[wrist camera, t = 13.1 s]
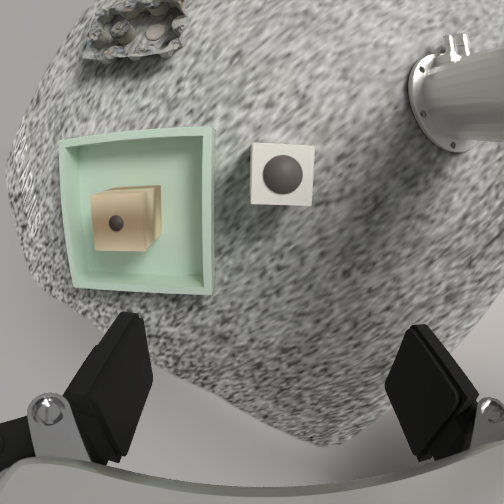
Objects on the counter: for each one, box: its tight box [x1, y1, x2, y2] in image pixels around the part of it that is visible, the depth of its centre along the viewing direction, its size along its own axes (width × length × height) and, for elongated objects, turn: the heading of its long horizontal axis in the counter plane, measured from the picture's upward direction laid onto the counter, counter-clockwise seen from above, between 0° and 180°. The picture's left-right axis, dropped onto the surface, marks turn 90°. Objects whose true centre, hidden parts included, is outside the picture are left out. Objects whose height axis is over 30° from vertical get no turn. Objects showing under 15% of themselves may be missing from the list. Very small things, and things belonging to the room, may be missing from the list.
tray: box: [59, 127, 216, 295], centre depth 28 cm, size 16×16×4 cm
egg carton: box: [82, 0, 188, 64], centre depth 22 cm, size 11×8×4 cm
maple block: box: [90, 185, 162, 251], centre depth 26 cm, size 5×5×6 cm
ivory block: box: [250, 143, 315, 206], centre depth 26 cm, size 5×5×6 cm
